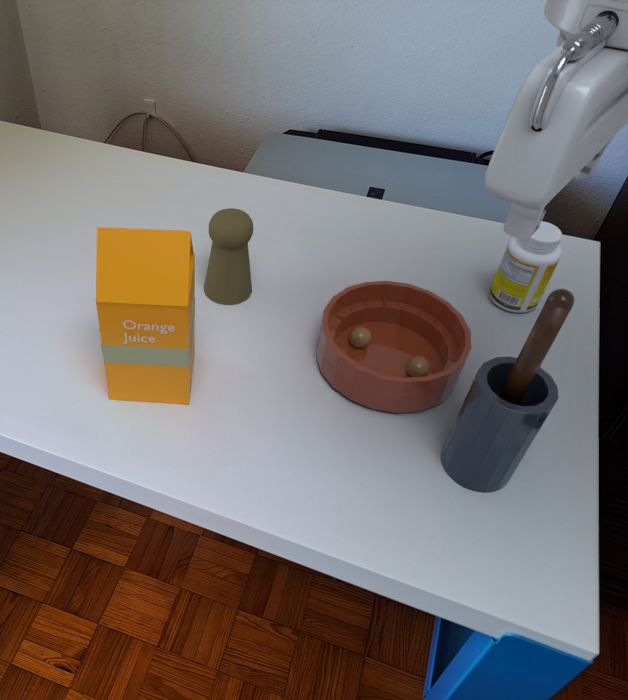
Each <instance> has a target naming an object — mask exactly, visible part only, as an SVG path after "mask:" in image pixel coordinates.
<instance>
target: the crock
mask: <svg viewBox="0 0 628 700" xmlns="http://www.w3.org/2000/svg"><path fill="white" fill-rule="evenodd" d="M517 358H518V357H514V356H495V357H493V358H491V359H488V360H486V361H484V362H483V363H482V364H481V366H480V367H479V368H478V370H477V372H476V374H475V376H474V378H473V380H472V382H471V384H470V387H469V389H468V392H467V394H466V396H465V398H464V401H463V403H462V405H461V407H460V410H459V412H458V414H457V416H456V418H455V421H454V422H453V425H452V428H451V429H450V431H449V434H448V437H447V438H446V441H445V443H444V445H443V448H442V451H441V464H442V467H443V468H444V471H445V472H446V473H447V475H448V476H449V477H450V478H451V479H452V480H453V481H454V482H455V483H456V484H458V485H459V486H461V487H463V488H465V489H467V490H470V491H473V492H476V493H492V492H493V493H494V492H497V491H500V490H501V489H503V488H504V487H506V486H507V485H508V483H509V481H510V480H511V478H512V477H513V475H514V473H515V472H516V470H517V469H518V467H519V465H520V463H521V462H522V460H523V459H524V457H525V455H526V453H527V452H528V450H529V448H530V447H531V445H532V443H533V442H534V440H535V438H536V437H537V435H538V433H539V432H540V430H541V429H542V427H543V425H544V423H546V420H547V418H548V417H549V415H550V414H551V412H552V410H553V409H554V407H555V406H556V403H557V402H558V401H559V388H558V385H557V383H556V382H555V380H554V379H553V377H552V376H551V375H550V374H549V373H548V372H546V371H545V370H544V369H543V368H542V367H541V366H540V368H539V370H538V372H537V373H536V375H535V377H534V379H533V381H532V383H531V384H530V386H529V388H528V390H527V392H526V394H525V396H524V397H523V399H522V401H521V403H520V405H516V404H511V403H509V402H507V401H505V400H503V399H501V398H500V397H498V396H499V394H500V392H501V390H502V388H503V386H504V384H505V382H506V380H507V378H508V376H509V374H510V372H511V370H512V368H513V366H514V364H515V362H516V360H517Z"/></svg>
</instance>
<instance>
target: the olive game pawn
mask: <svg viewBox="0 0 628 700" xmlns="http://www.w3.org/2000/svg"><path fill="white" fill-rule="evenodd" d="M208 235H209V238H210V240H211V241H212V242H211V247H210V252H209V258H208V263H207V268H206V269H207V270H206V275H205V280H204V285H203V290H204V291H203V292H204V294H205V296H206V297H207V298H208V299H209V300H210V301H212V302H214V303H216V304H218V305H219V304H220V305H224V306H234V305H238V304H239V305H240V304H241V303H243V302H245V301H247V299H249V298H250V297H251V295H252V292H253V287H252V286H253V285H252V273H251V264H250V251H249V242H250V241H251V239H252V237H253V235H254V221H253V220H252V217H251V216H250V214H248V213H247V212H246V211H244V210H243V209H238V208H233V207H232V208H231V207H230V208H222V209H220V210H218V211H217V212H215V213H214V214H213V215H212V216H211V217H210V220H209V222H208Z"/></svg>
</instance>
